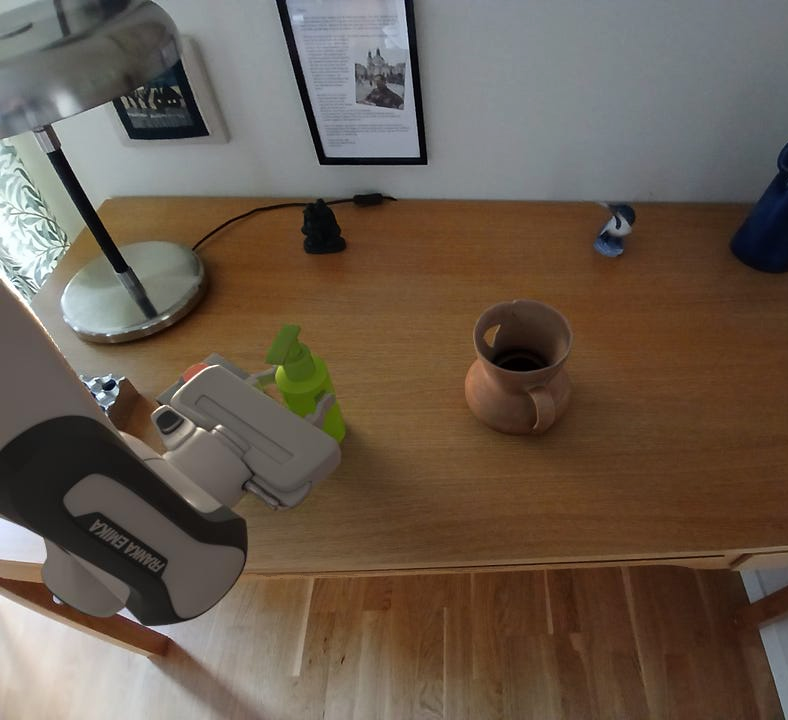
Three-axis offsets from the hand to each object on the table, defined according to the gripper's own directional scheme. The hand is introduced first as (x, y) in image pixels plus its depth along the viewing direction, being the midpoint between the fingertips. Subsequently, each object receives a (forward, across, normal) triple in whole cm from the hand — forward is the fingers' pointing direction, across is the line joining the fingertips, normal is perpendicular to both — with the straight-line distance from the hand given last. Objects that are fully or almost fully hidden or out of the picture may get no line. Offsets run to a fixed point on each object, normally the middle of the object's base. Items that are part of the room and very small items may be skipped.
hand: (307, 380), depth 66 cm
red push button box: (-5, +17, +11) cm, 21 cm away
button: (-5, +17, +7) cm, 19 cm away
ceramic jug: (+18, -19, +11) cm, 29 cm away
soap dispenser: (-1, 0, +11) cm, 11 cm away
